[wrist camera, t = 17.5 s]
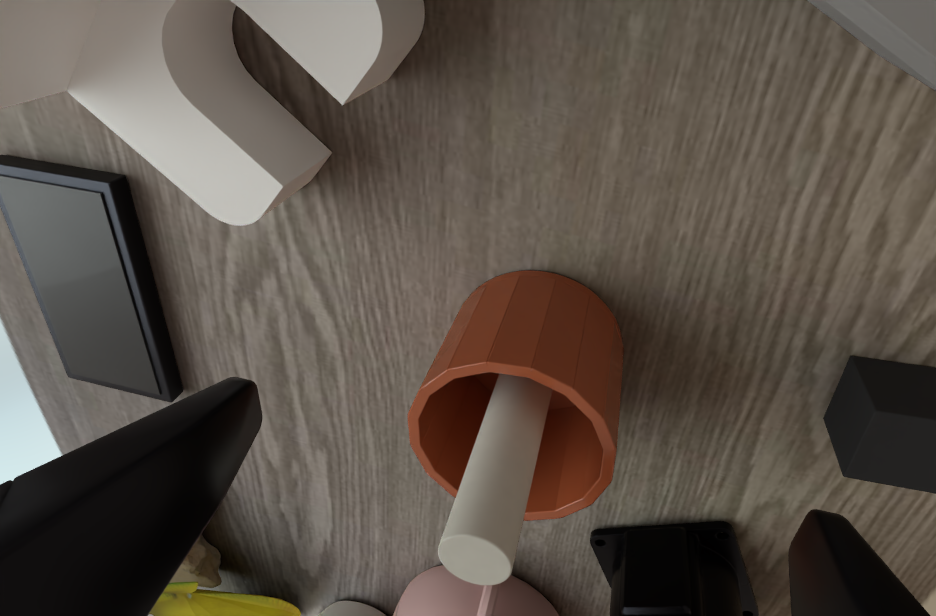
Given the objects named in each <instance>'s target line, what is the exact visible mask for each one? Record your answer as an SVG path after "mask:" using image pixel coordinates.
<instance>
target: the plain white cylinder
mask: <svg viewBox="0 0 936 616" xmlns="http://www.w3.org/2000/svg"><path fill="white" fill-rule="evenodd" d="M551 394H552V389H551V388H549V387H547V386H545V385H543V384H541V383H539V382H537V381H534V380H532V379H530V378H527V377H520V376H513V375H506V374H500V373H499V376H498V379H497V381H496V384H495V387H494V390H493V393H492V396H491V398H490V401H489V404H488V407H487V410H486V413H485V416H484V418H483V421H482V424H481V427H480V430H479V433H478V436H477V438H476V441H475V444H474V447H473V450H472V453H471V456H470V458H469V461H468V464H467V467H466V470H465V473H464V476H463V478H462V481H461V484H460V487H459V490H458V493H457V495H456V498H455V501H454V504H453V507H452V510H451V513H450V515H449V518H448V521H447V524H446V527H445V530H444V533H443V535H442V538H441V541H440V544H439V547H438V555H439V558H440V561H441V562H442V564H443V565H444V566H445V568H446V569H447V570H448V571H449V572H451V573H452V574H453V575H455V576H457V577H458V578H460V579H462V580H464V581H467V582H470V583H473V584H478V585H496V584H499V583H502V582H504V581H505V580H507V579H508V578H509V576H510V575H511V573H512V569H513V564H514V560H515V556H516V551H517V547H518V542H519V538H520V533H521V529H522V524H523V520H524V515H525V511H526V506H527V502H528V497H529V493H530V488H531V484H532V479H533V475H534V470H535V466H536V461H537V457H538V452H539V448H540V443H541V439H542V434H543V430H544V425H545V421H546V416H547V412H548V407H549V403H550V398H551Z"/></svg>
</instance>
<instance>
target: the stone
mask: <svg viewBox="0 0 936 616" xmlns="http://www.w3.org/2000/svg"><path fill="white" fill-rule="evenodd" d="M220 557H221V555H220V553H219V551H218V549H217V548H215V547H213V546H211V545H210V544H209V543H207V542H206V540H205V539H204V538H203V536H202V534H201V535H200V537H199V538H198V540H197V541H196V543H195V544H194V546H193V547H192V549H191V550H190V552H189V553H188V555H187V556H186V558H185V560H184V561H183V563H182V564H181V566H180V567H179V569H178V570H177V572H176V573H175V575H174V576H173V578H172V579H171V581H170V582H169V583H175V582H198V586H201V587H208V588H214V587H216V586H218V585H220V584H221V582H222V581H221V577H220V576H219V573H218V569H219V568H218V567H219V565H220V564H221V561H220Z"/></svg>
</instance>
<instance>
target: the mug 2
mask: <svg viewBox="0 0 936 616" xmlns="http://www.w3.org/2000/svg"><path fill="white" fill-rule="evenodd" d="M393 616H559V615H558V613H557V612H556V610H555V609H554V607H553V606H552V604H551V603H550V602H549V601H548V600H547V599H546V598H545V597H544V596H543V595H542V594H541V593H540V592H538V591H537V590H536V589H534V588H533V587H531V586H530V585H529V584H527V583H526V582H524V581H522V580H520V579H518V578H516V577H514V576H512V575H510V576H509V578H508V579H507V580H505V581H504V582H502V583H499V584H496V585H478V584H473V583H470V582H467V581H464V580H462V579H460V578H458V577H457V576H455V575H453V574H452V573H451V572H449V571H448V570H447V569H446V568H445V566H444V565H441V566H436V567H432V568H430V569H428V570H426V571H424V572H422V573H420V574H419V575H418V576H417V577H415V578H414V579H413V580H412V581H411V582H410V583H409V584H408V586H407V588H406V589H405V591H404V593H403V595H402V596H401V598H400V600H399V602H398V605H397V607H396V609H395V612H394V615H393Z"/></svg>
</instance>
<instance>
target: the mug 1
mask: <svg viewBox="0 0 936 616" xmlns="http://www.w3.org/2000/svg"><path fill="white" fill-rule="evenodd" d="M318 616H386V615H385V614H384V613H382V612H380V611H379V610H377V609H375V608H373V607H371V606H368V605H366V604H363V603H359V602H354V601H339V602H335V603H333V604H331V605H329V606H328V607H327V608H326V609H325V610H324V611H323V612H321V613H320V614H319V615H318Z"/></svg>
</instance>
